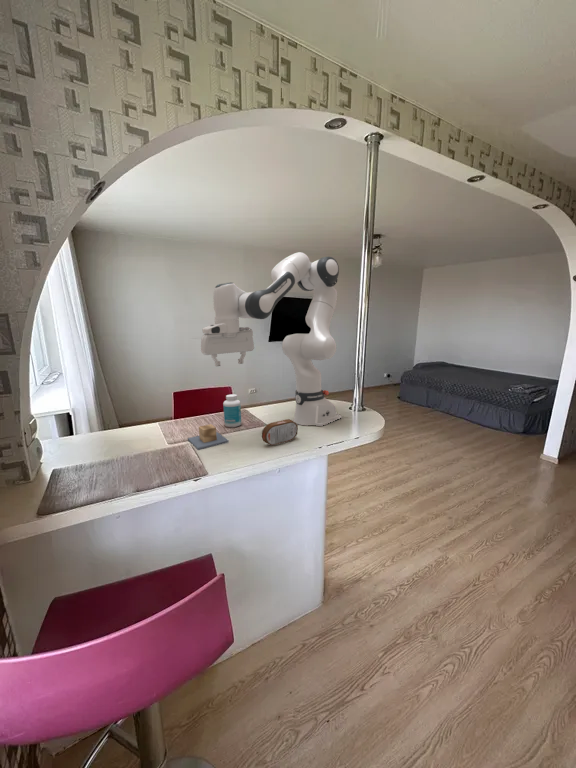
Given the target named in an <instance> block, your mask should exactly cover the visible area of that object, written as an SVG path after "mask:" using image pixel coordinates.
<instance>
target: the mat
mask: <svg viewBox="0 0 576 768" xmlns="http://www.w3.org/2000/svg"><path fill="white" fill-rule="evenodd" d="M216 436H217V440H214V441H210V442H206V443H204V442H203V441H202V440H200V436H199V435H196V436H192V437H188V438H187V441H188V442H189V443H190V444H191V445H192V444H193V445H192V446H193V447H194V448H195V449H197V451H200V450H204V449H207V448H212V447H216V446H219V445H224V444H228V443H230V441H229V440H228V439H227V438H226V437H225V436H223V435H222V434H221V433H219V432H218V431H216Z"/></svg>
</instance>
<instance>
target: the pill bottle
mask: <svg viewBox="0 0 576 768" xmlns="http://www.w3.org/2000/svg"><path fill="white" fill-rule="evenodd" d="M225 399H226V400H224V401H223V403H222V405H223V420H224V426H225V427H227V428H237V427H240V426H241V425H242V422H243V421H242V407H241V401H240V400H239V399H238V394H235V393H234V394H233V393H232V394H231V393H230V394H227V395H225Z"/></svg>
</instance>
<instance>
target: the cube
mask: <svg viewBox="0 0 576 768" xmlns="http://www.w3.org/2000/svg"><path fill="white" fill-rule="evenodd" d="M216 432H217V427H216V426H214V425H213V424H211V423H210V424H205V425H199V426H198V434H199V435H198V436H200V440H202V441H203V442H204V443H206V442H210V441H214V440H217V436H216Z"/></svg>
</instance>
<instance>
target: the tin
mask: <svg viewBox="0 0 576 768" xmlns="http://www.w3.org/2000/svg"><path fill="white" fill-rule="evenodd" d="M298 431H299V426H298V424H297V423H295V422H294V421H293V419H289V418H287V419H282V420H277V421H273V422H269V423H268V424H266V425H265V426H264V428H263V429H262V431H261V438H262V439H261V440H262V441H263V442H264V443H265V444H267V445H268V446H276V445H281V444H283V443H284V442H285V443H288V442H291V441H293V440H294V439H295V438H296V437H297V435H298Z"/></svg>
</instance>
